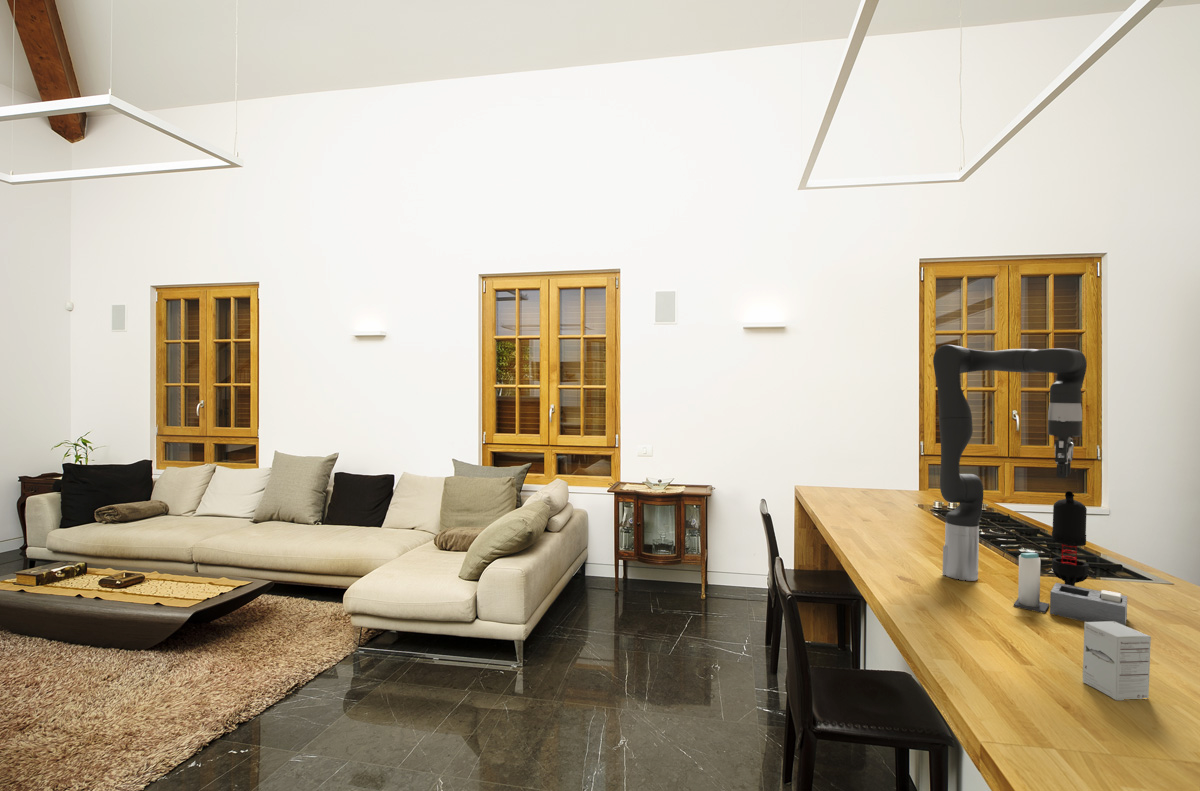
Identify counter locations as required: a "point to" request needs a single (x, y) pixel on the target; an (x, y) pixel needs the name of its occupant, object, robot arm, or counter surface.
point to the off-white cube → (1111, 596)
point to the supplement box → (1116, 660)
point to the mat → (1041, 608)
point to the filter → (1069, 538)
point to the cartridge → (1029, 579)
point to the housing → (1086, 605)
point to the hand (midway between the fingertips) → (1063, 476)
